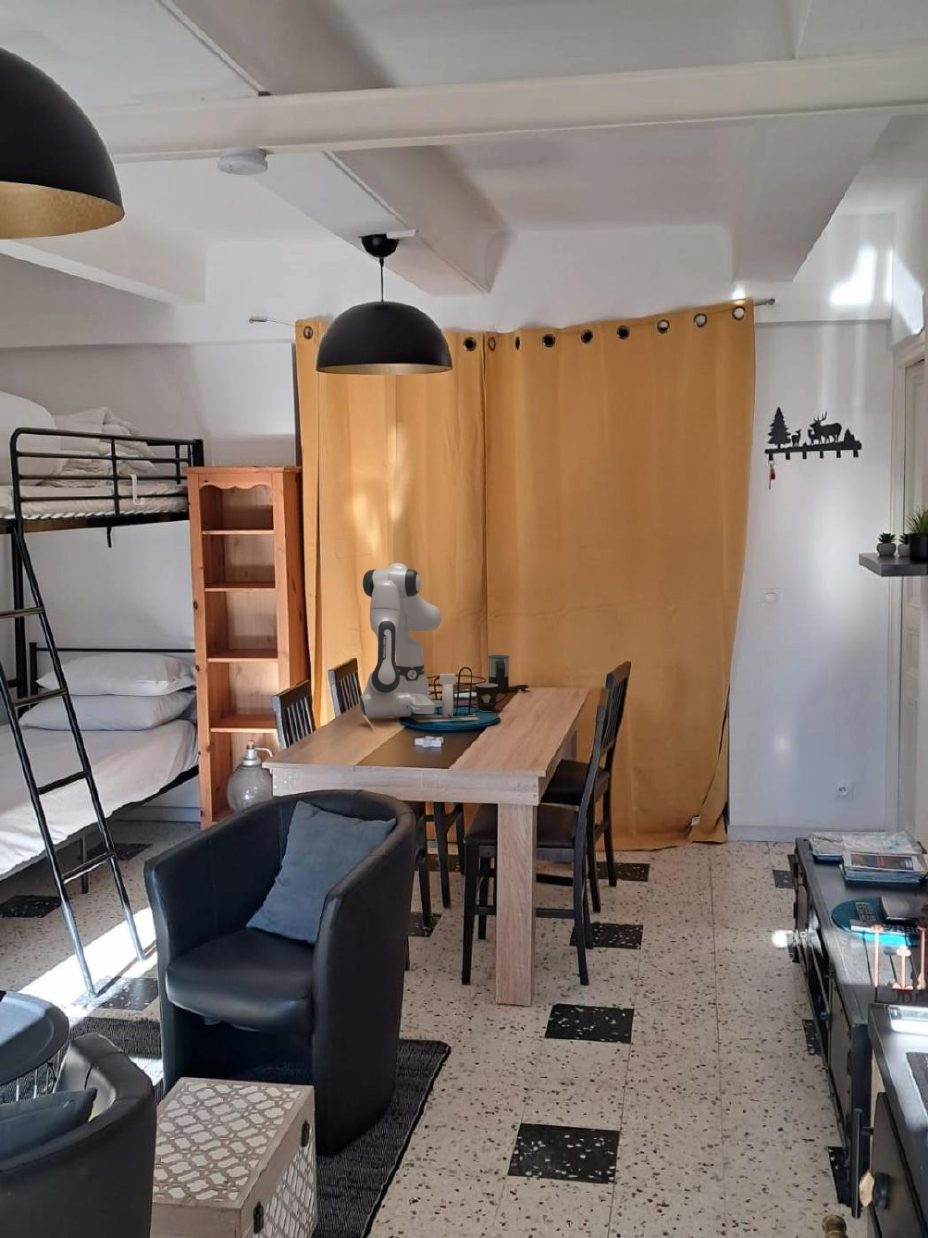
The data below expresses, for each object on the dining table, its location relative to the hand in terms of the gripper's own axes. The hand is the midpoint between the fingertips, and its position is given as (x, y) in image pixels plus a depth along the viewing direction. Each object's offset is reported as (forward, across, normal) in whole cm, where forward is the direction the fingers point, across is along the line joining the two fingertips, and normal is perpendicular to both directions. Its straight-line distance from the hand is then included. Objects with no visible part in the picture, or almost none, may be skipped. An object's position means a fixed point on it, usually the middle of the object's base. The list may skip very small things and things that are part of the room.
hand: (442, 703), depth 440 cm
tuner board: (+1, 0, +7) cm, 7 cm away
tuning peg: (+2, -2, +5) cm, 6 cm away
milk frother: (+41, +60, +7) cm, 73 cm away
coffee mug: (+22, +17, +7) cm, 29 cm away
